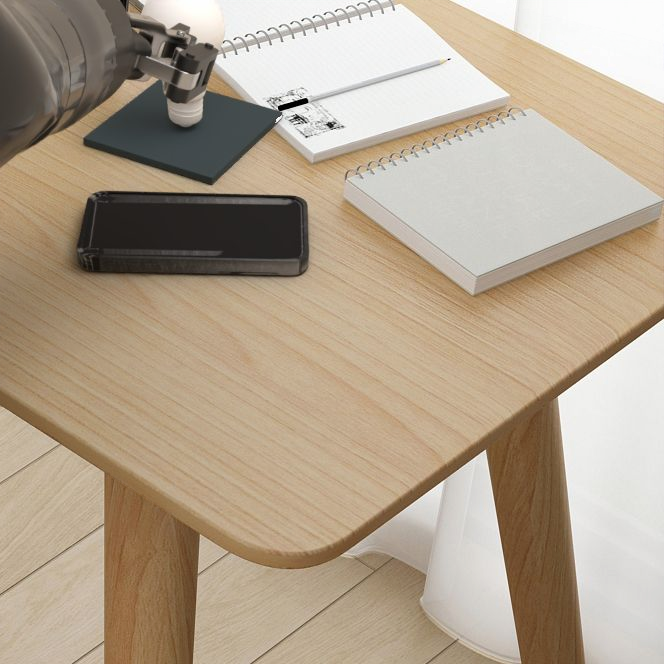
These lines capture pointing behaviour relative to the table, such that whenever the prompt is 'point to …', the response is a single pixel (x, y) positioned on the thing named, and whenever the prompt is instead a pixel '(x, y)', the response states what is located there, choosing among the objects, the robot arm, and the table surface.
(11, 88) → the robot arm
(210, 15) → the lightbulb
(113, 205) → the phone
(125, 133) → the mat
